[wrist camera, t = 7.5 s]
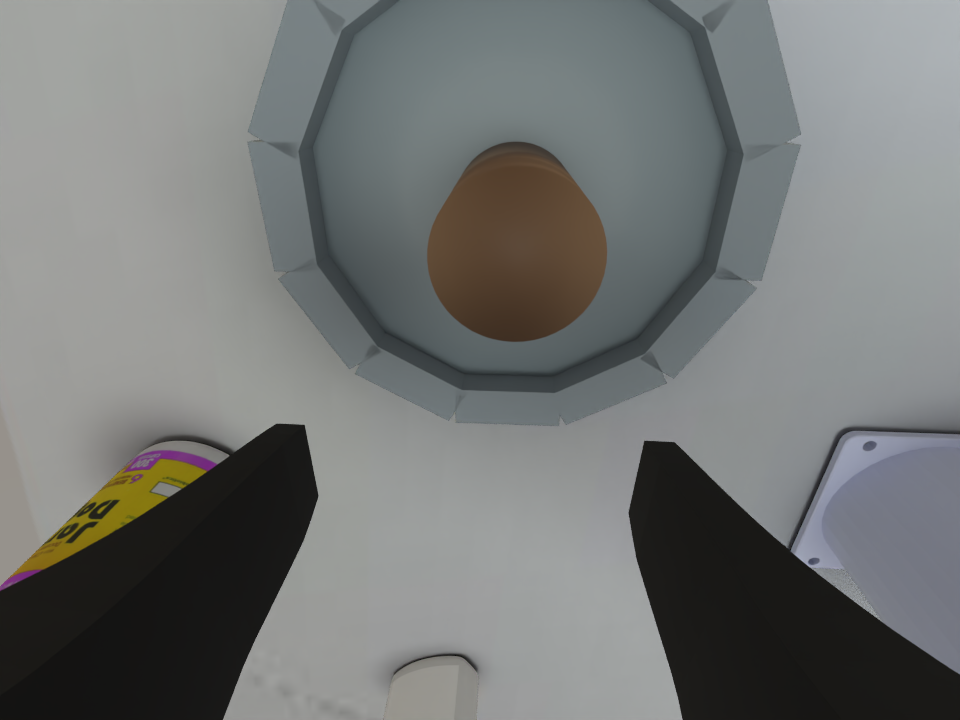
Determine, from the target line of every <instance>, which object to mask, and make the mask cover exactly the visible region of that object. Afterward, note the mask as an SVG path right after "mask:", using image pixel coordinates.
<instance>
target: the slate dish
mask: <svg viewBox="0 0 960 720" xmlns="http://www.w3.org/2000/svg"><path fill="white" fill-rule="evenodd" d="M248 132H249V133H250V134H252V135H254V136H256V137H257V138H259V139H261V140H255V141H249V142H248V147H249V152H250V156H251V161H252V166H253V171H254V175H255V180H256V185H257V190H258V195H259V199H260V204H261V209H262V214H263V218H264V223H265V228H266V233H267V238H268V242H269V247H270V252H271V257H272V261H273V266H274V271H283V272H286V273H285V274H284V275H283V276H281V277H280V278H279V281H280V282H281V283H282V284H283V286H284V287H285V288H286V290H287V291H288V292H289V293H290V295H291V296H292V297H293V298H294V300H295V301H296V302H297V303H298V305H299V306H300V307H301V309H302V310H303V311H304V312H305V314H306V315H307V316H308V317H309V319H310V320H311V321H312V323H313V324H314V325H315V326H316V328H317V329H318V330H319V331H320V333H321V334H322V335H323V337H324V338H325V339H326V340H327V342H328V343H329V344H330V345H331V347H332V348H333V349H334V351H335V352H336V353H337V354H338V356H339V357H340V358H341V359H342V361H343V362H344V363H345V364H346V366H347V367H348V368H349V369H350V368H352V367H354V366H356V365H358V364H360V363H361V364H360V365H359V367H358V369H357V371H356V373H355V374H356V375H358V376H360V377H362V378H364V379H366V380H368V381H370V382H372V383H374V384H376V385H378V386H380V387H382V388H384V389H386V390H388V391H390V392H392V393H394V394H396V395H398V396H400V397H402V398H404V399H406V400H408V401H410V402H412V403H414V404H416V405H418V406H420V407H422V408H424V409H426V410H428V411H430V412H432V413H434V414H436V415H438V416H440V417H442V418H444V419H446V420H448V421H449V420H450V418H451V417H452V415H453V414H454V412H455V415H456V423H484V424H514V425H543V426H559V419H560V416H561V417H562V419H563V421H564V422H565V424H566V425H567V424H569V423H571V422H574V421H576V420H579V419H581V418H584V417H586V416H588V415H591V414H593V413H596V412H598V411H601V410H603V409H605V408H608V407H610V406H613V405H615V404H618V403H620V402H622V401H625V400H627V399H630V398H632V397H634V396H637V395H639V394H642V393H644V392H647V391H649V390H651V389H654V388H656V387H659V386H661V385H664V384H666V383H667V382H666V380H665V378H664V376H663V373H665V374H666V375H668V376H670V377H672V378H673V379H674V378H675V376H676V375H677V374H678V373H679V372H680V371H681V370H682V369H683V368H684V367H685V366H686V365H687V363H688V362H689V361H690V360H691V359H692V358H693V357H694V356H695V355H696V354H697V353H698V352H699V350H700V349H701V348H702V347H703V346H704V345H705V344H706V343H707V342H708V341H709V340H710V339H711V338H712V336H713V335H714V334H715V333H716V332H717V331H718V330H719V329H720V328H721V327H722V326H723V325H724V323H725V322H726V321H727V320H728V319H729V318H730V317H731V316H732V315H733V314H734V313H735V312H736V310H737V309H738V308H739V307H740V306H741V305H742V304H743V303H744V302H745V301H746V300H747V299H748V297H749V296H750V295H751V294H752V293H753V292H754V291H755V290H756V289H757V288H756V287H754V286H753V285H752V284H751V283H749V282H748V281H747V280H756V281H761V280H762V277H763V273H764V270H765V267H766V263H767V260H768V256H769V253H770V249H771V246H772V242H773V239H774V236H775V232H776V229H777V225H778V222H779V218H780V215H781V211H782V208H783V205H784V201H785V198H786V194H787V191H788V187H789V184H790V180H791V177H792V174H793V170H794V167H795V163H796V160H797V156H798V153H799V149H800V146H801V145H799V144H793V143H787V141H789V140H791V139H793V138H795V137H797V136H799V135H801V131H800V127H799V123H798V119H797V115H796V111H795V107H794V104H793V100H792V96H791V92H790V88H789V84H788V80H787V76H786V72H785V68H784V64H783V60H782V56H781V52H780V48H779V44H778V40H777V36H776V32H775V28H774V24H773V20H772V16H771V12H770V8H769V4H768V0H288V1H287V4H286V8H285V11H284V14H283V17H282V21H281V24H280V27H279V31H278V34H277V37H276V40H275V44H274V47H273V50H272V54H271V57H270V60H269V64H268V67H267V70H266V73H265V77H264V80H263V83H262V87H261V90H260V93H259V96H258V100H257V103H256V106H255V110H254V113H253V116H252V120H251V123H250V126H249V129H248ZM506 142H526V143H531V144H534V145H537V146H540V147H542V148H544V149H545V150H547V151H549V152H550V153H551V154H553V155H554V156H555V157H556V158H557V159H558V160H559V161H560V162H561V163H562V165H563V166H564V167H565V169H566V170H567V171H568V173H569V174H570V175H571V177H572V178H573V179H574V181H575V182H576V183H577V185H578V186H579V187H580V189H581V190H582V191H583V193H584V194H585V195H586V197H587V198H588V199H589V201H590V202H591V203H592V205H593V206H594V208H595V209H596V211H597V213H598V215H599V217H600V219H601V222H602V225H603V227H604V231H605V236H606V242H607V264H606V269H605V274H604V277H603V280H602V283H601V286H600V288H599V290H598V292H597V294H596V296H595V297H594V299H593V301H592V302H591V304H590V305H589V306H588V307H587V309H586V310H585V311H584V312H583V313H582V314H581V315H580V316H579V317H578V318H577V319H576V320H575V321H574V322H572V323H571V324H569V325H568V326H567V327H565V328H563V329H562V330H560V331H558V332H556V333H554V334H552V335H549V336H547V337H544V338H540V339H536V340H531V341H525V342H507V341H499V340H495V339H491V338H487V337H484V336H482V335H479V334H477V333H475V332H473V331H471V330H470V329H468V328H466V327H465V326H463V325H462V324H461V323H459V322H458V321H457V320H456V319H455V318H454V317H453V316H452V315H451V314H450V313H449V312H448V311H447V310H446V309H445V307H444V306H443V305H442V303H441V302H440V300H439V298H438V296H437V295H436V293H435V290H434V288H433V286H432V283H431V279H430V276H429V272H428V264H427V247H428V240H429V236H430V232H431V229H432V225H433V223H434V221H435V219H436V216H437V214H438V213H439V211H440V210H441V208H442V206H443V205H444V203H445V201H446V200H447V198H448V196H449V195H450V193H451V192H452V190H453V188H454V187H455V185H456V183H457V182H458V180H459V179H460V177H461V175H462V174H463V172H464V170H465V169H466V167H467V166H468V165H469V164H470V162H471V161H472V160H473V159H474V158H475V157H476V156H478V155H479V154H480V153H482V152H483V151H485V150H487V149H488V148H490V147H492V146H495V145H498V144H501V143H506ZM662 372H663V373H662Z"/></svg>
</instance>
